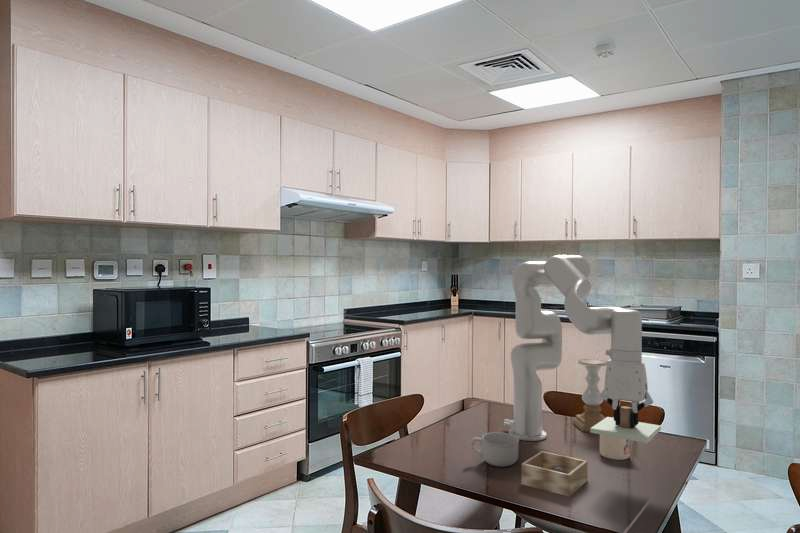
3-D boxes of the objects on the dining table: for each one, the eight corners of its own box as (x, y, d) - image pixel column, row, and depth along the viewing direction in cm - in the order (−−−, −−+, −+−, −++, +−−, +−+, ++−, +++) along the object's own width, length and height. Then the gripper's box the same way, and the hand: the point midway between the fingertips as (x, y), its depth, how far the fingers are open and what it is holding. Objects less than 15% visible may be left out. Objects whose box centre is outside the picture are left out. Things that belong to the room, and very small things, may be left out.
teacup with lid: (631, 462, 166) (631, 423, 166) (598, 458, 169) (598, 419, 169) (629, 449, 177) (629, 413, 177) (599, 446, 181) (599, 410, 181)
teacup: (520, 460, 167) (521, 434, 167) (516, 473, 157) (516, 445, 157) (474, 455, 172) (475, 429, 172) (467, 467, 161) (467, 439, 161)
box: (521, 486, 148) (521, 463, 148) (541, 472, 158) (541, 450, 158) (569, 499, 140) (569, 475, 140) (587, 483, 150) (587, 461, 150)
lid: (590, 432, 147) (590, 409, 147) (607, 421, 158) (607, 399, 158) (647, 443, 138) (647, 418, 138) (660, 430, 149) (660, 406, 149)
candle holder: (601, 422, 207) (602, 358, 207) (613, 431, 196) (614, 363, 196) (572, 422, 207) (572, 358, 207) (582, 431, 196) (583, 363, 196)
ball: (550, 479, 151) (550, 467, 151) (555, 475, 153) (555, 464, 153) (562, 482, 149) (562, 470, 149) (566, 478, 151) (566, 466, 151)
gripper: (590, 354, 150) (590, 423, 150) (655, 361, 140) (655, 434, 140) (599, 351, 156) (599, 417, 156) (663, 357, 146) (662, 427, 146)
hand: (625, 424), depth 148 cm, fingers closed on lid, 3 cm apart
